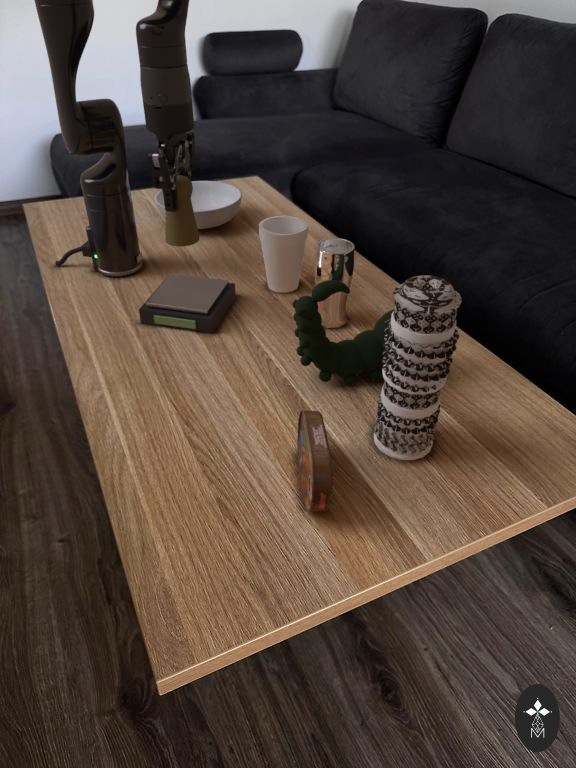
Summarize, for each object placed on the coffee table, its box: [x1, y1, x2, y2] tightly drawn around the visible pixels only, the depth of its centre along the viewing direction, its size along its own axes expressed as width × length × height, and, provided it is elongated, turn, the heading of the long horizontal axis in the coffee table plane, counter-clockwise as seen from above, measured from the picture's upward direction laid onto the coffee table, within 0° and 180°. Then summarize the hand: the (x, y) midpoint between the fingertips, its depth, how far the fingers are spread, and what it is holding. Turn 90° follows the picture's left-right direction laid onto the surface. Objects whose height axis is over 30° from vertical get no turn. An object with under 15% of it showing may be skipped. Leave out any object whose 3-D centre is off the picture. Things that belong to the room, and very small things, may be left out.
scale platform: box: [145, 272, 230, 315], centre depth 112 cm, size 12×12×1 cm
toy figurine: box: [291, 280, 394, 386], centre depth 93 cm, size 9×19×25 cm
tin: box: [296, 409, 334, 513], centre depth 76 cm, size 15×3×8 cm, turn 5°
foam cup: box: [258, 215, 309, 294], centre depth 118 cm, size 10×9×13 cm
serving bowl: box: [154, 180, 243, 230], centre depth 146 cm, size 21×21×7 cm
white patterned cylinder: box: [373, 274, 463, 461], centre depth 78 cm, size 9×9×25 cm
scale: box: [138, 274, 237, 334], centre depth 113 cm, size 14×14×3 cm
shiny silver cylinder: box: [313, 237, 355, 329], centre depth 107 cm, size 7×7×15 cm
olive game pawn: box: [161, 175, 200, 247], centre depth 102 cm, size 6×6×11 cm
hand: (178, 204), depth 101 cm, fingers closed on olive game pawn, 5 cm apart
